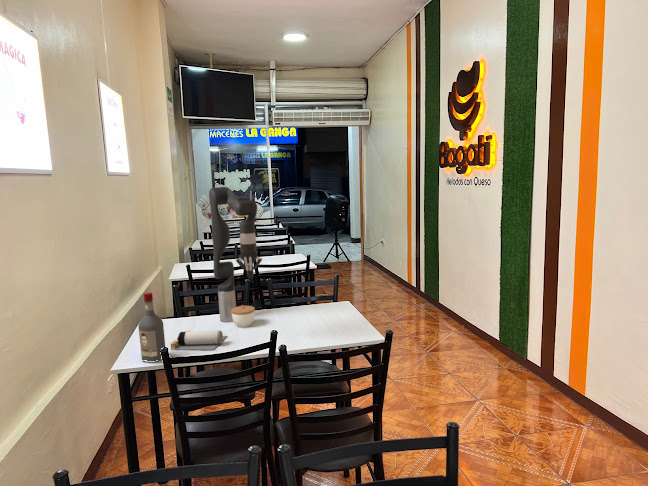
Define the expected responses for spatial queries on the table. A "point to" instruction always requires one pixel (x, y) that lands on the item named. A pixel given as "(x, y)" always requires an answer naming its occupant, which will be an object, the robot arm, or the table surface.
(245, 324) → the lidded bowl
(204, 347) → the mat
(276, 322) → the table surface
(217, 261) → the robot arm
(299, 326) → the table surface
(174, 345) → the rail
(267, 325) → the table surface
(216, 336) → the travel mug
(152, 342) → the liquor
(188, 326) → the table surface
